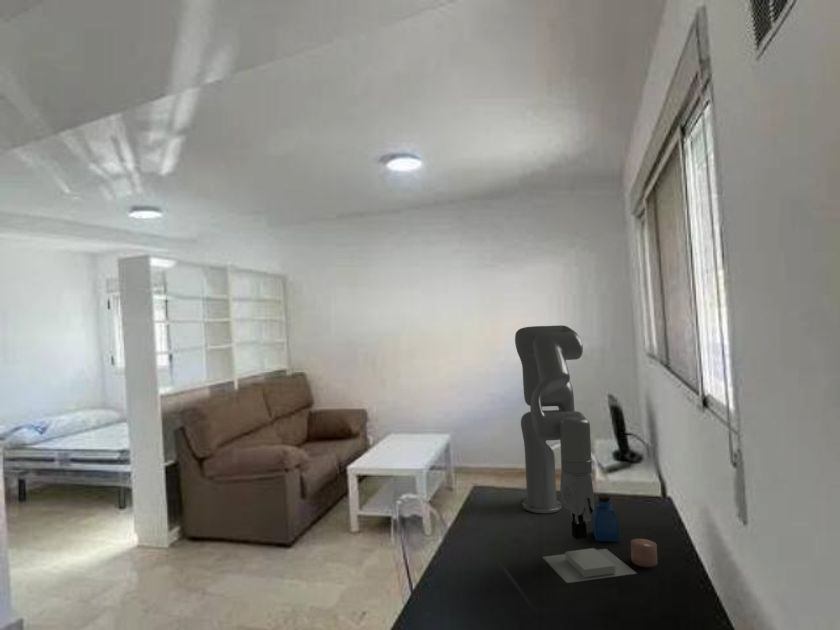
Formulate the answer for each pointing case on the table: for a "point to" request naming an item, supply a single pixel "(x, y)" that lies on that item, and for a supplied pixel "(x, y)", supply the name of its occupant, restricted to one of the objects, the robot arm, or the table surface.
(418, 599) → the table surface
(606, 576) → the mat
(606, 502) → the perfume bottle
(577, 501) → the robot arm
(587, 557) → the tile
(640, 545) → the brown rounded cylinder
